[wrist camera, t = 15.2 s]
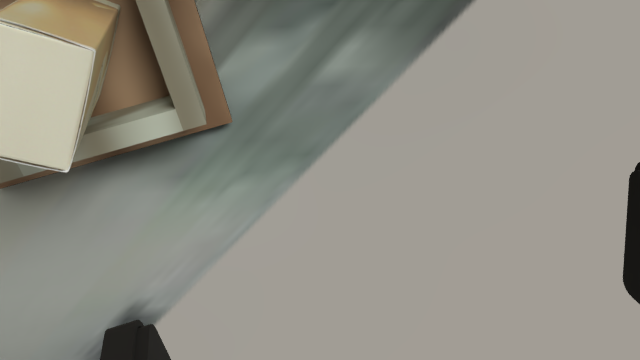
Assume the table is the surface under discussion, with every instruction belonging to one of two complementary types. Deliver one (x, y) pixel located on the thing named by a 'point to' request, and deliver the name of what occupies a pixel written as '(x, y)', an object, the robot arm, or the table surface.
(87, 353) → the table surface
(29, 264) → the table surface
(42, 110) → the skincare box
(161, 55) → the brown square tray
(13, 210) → the table surface
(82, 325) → the table surface
